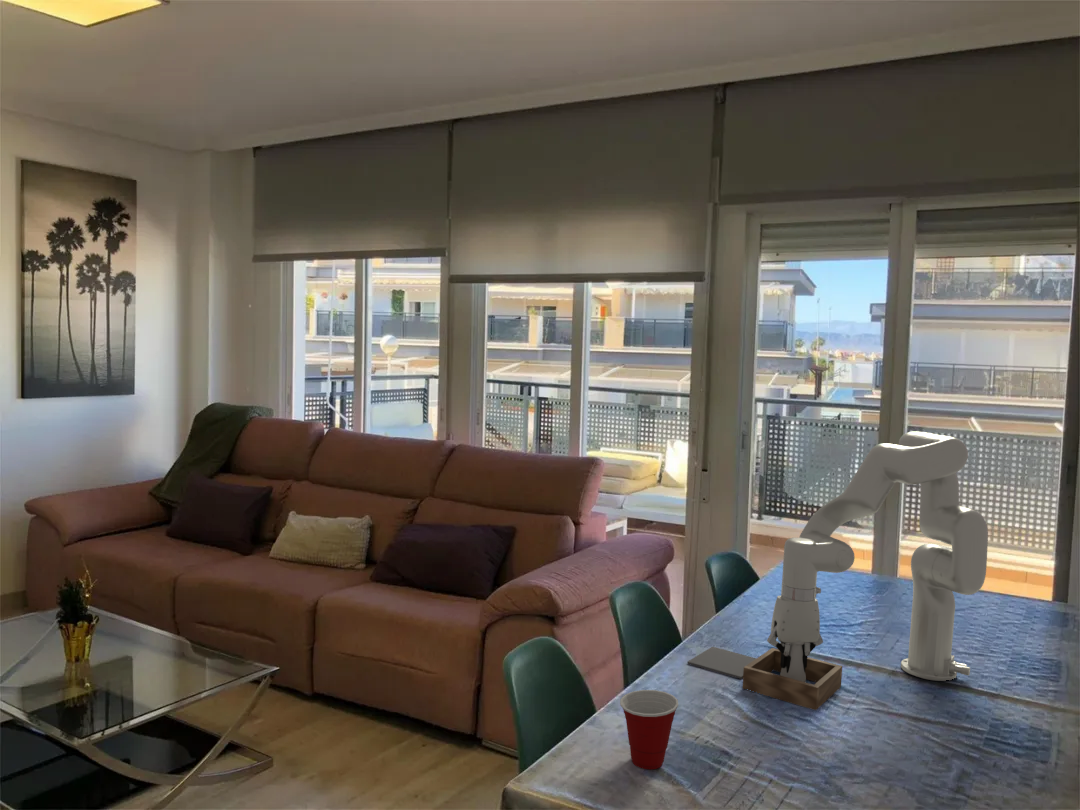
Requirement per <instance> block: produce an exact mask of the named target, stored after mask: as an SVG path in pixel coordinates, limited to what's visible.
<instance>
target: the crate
mask: <svg viewBox="0 0 1080 810" xmlns="http://www.w3.org/2000/svg"><path fill="white" fill-rule="evenodd" d="M756 658H757V659H755V660H754V661H752V662H751V663H749V664H748V665H746V666H745V667H744V671H743V678H742V688H743V689H742V688H741V689H742V690H745V689H748V690H747V691H749V690H751V691H750V692H752V691H754V692H753V693H755V692H757V693H756V694H759V693H760V695H762V694H763V695H762V696H766V697H769V696H770V697H769V698H772V699H776V700H780V701H782V702H787V703H790V704H792V705H793V704H794V705H797V706H800V707H803V708H806V709H811V710H813V711H818V709H819V708H820V707H822V706H823V705H824V704H825V703H826V702H827V701H828V700H829V699H830V698H831V697H832V696H833V695H834V694H835V693H836V692H838V690H839V689H840V688H841V687H842V679H843V678H842V677H843V676H842V675H843V665H839V664H836V663H833V662H829V661H825V660H821V659H820V660H819V659H817V658H812V657H809V656H807V667H806V668H805V675H806V682H802V681H798V680H795V679H791V678H788V677H784V676H780V674H776V673H773V671H774V672H778V673H781V669H782V667H781V665H780V662H781V652H780V651H779V650H778V649H777V648H776V647H771V648H770V649H768V650H767V651H765V652H764V653H762V654H761V655H760V656H758V657H756ZM807 680H808V681H811V682H813V683H814V684H812V683H809V682H807Z"/></svg>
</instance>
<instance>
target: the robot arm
mask: <svg viewBox="0 0 1080 810" xmlns="http://www.w3.org/2000/svg"><path fill="white" fill-rule="evenodd" d="M968 458H969V451H968V448H967V445H965V443H964V442H963V441H962V440H961V439H959V438H957V437H953V436H948V435H942V434H935V433H931V432H925V431H908V432H906V433H904V434H902V435H901V437H900V438H899V440H898V444H895V443H894V444H893V443H887V442H886V443H879V444H875V445H874V446H872V448H871V449H870V450H869V452H868V454H866V456H865V458H864V459H863V461H862V463H861V464H860V466H859V468H858V469H857V471H856V472H855V474H854V476H853V477H852V479H851V480H850V482H849V483H848V485H847V487H846V488H845V489H844V491H843V492H842V493H841V494H840V495H837V496H836V497H834V498H833V499H831V500H829V502H827V503H826V504H824V505H823V506H821V507H820V508H819V509H817V510H816V511H815V512H814V513H813V515H812V516H811V517H810V518H809V520H808V522H807V523H806V525H805V526H804V528H803V529H802V531H801V532H800V535H799V537H791V538H790V537H789V538H787V540H785V542H784V546H783V549H784V550H783V561H782V578H781V591H780V592H781V593H780V595H777V597H776V600H775V603H774V607H773V611H772V618H771V619H772V620H771V627H770V634H769V636H768V638H767V639H766V642H767V643H768V644H770V645H771V646H773V647H774V648H775V649H778V650H779V651H780V652H781V662H780V665H781V667H782V668H785V667H786V669H787V673H788V672H789V667H790V661H791V656H789V650H790V644H791V643H794V642H798V641H800V640H801V642H804V644H803V645H802V649H803V667H804V672H805V668H806V667H807V657H809V656H810V654H811V652H812V651H814V649H815V648H816V647H818V646H820V645H822V644H823V643H824V640H823V638H822V635H821V633H820V632H821V631H820V630H821V624H820V623H821V620H820V608H819V607H820V606H819V601H818V599H817V595H818V594H821V593H822V589H821V587H817V582H818V581H817V579H818V572H822V573H823V572H824V573H833V574H834V573H835V574H839V573H843V572H846V571H848V570H849V569H850V568H851V567H852V566H853V565H854V563H855V552H854V549H853V547H851V546H850V544H848V543H846V541H843V540H840V539H837V538H835V537H833V536H832V535H833V533H834V532H835V531H836V530H837V529H838V528H839V527H841V526H842V525H844V524H845V523H847V522H849V521H853V520H857V519H861V518H865V517H868V516H872V515H874V514H875V515H876V513H878V511H879V510H880V508H881V507H882V505H883V503H884V502H885V500H886V499H887V497H888V495H889V493H890V492H891V490H893V487H894V486H895V484H896V483H901V484H904V485H911V486H912V485H919V487H920V488H919V489H920V496H919V497H920V498H919V517H918V518H919V520H918V521H919V522H918V523H919V529H920V531H921V534H923V535H924V536H926V537H927V538H929V539H930V540H935V541H938V542H940V543H943V544H947V545H949V546H951V548H950V547H949V546H948V547H947V546H943V545H941V544H936V543H925V544H922V545H920V546H918V547H917V548H916V549H915V550H914V552H913V553H912V555H911V558H910V559H911V560H910V568H911V569H910V571H911V578H912V587H913V589H912V590H913V591H912V604H911V605H912V606H911V617H910V631H909V641H908V642H909V643H908V655H907V658H904V659H902V660H901V661H900V668H901V669H902V671H904V672H906V673H907V674H909V675H912V676H915V677H916V678H921V679H924V680H930V681H936V682H947V681H946V680H949V681H952V679H953V680H954V678H955V679H956V678H957V677H956V676H958V675H957V673H958V674H961V675H963V676H964V675H965V676H969V677H970V673H971V667H969V666H967V664H965V663H960V662H957V661H956V660H955V655H952V653H953V652H952V651H953V650H952V648H953V636H954V627H955V625H954V623H955V612H956V601H955V595H954V593H957V594H960V595H964V596H971V595H974V594H976V593H978V592H979V591H980V590H981V589H982V587H983V586H984V583H985V580H986V576H987V565H988V563H987V561H988V544H989V529H988V525H987V522H986V519H985V518H984V516H983V515H982V514H981V513H980V512H979V511H977V510H974V509H972V508H970V507H965V506H961V505H960V492H959V491H960V483H959V478H958V475H957V473H958V472H960V471H962V469H963V468H964V467H965V465H966V464H967V462H968Z"/></svg>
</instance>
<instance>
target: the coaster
mask: <svg viewBox="0 0 1080 810" xmlns="http://www.w3.org/2000/svg"><path fill="white" fill-rule="evenodd" d="M757 658H758V657H753V656H749V655H745V654H742V653H739V652H738V653H737V652H736V651H735V652H734V651H731V650H727V649H723V648H719V647H717V646H711V647H709V648H707V649H706V650H705V651H702V652H701V653H699V654H698V655H696V656H694V657H693V658H691V659H690V660H688V661H687V663H688V664H687V665H690V664H691V665H690V666H693V665H694V666H693V667H697V668H700V667H701V669H703V668H704V670H708V671H710V670H711V672H714V673H717V672H718V674H721V675H724V674H725V676H728V675H729V677H731V676H732V677H731V678H735V677H736V678H735V679H738V678H739V680H743V671H744V667H745V666H746V665H748V664H749V663H751V662H752V661H754V660H755V659H757Z"/></svg>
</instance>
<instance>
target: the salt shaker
mask: <svg viewBox="0 0 1080 810" xmlns="http://www.w3.org/2000/svg"><path fill="white" fill-rule="evenodd" d="M803 644H804V642H801V640H800V641H798V642H794V643H791V644H790V650H789V656H791V661H790V667H789V672H788V673H787V669H786V667H785V668H782V669H781V672H779V675H780V676H784V677H788V678H791V679H795V680H798V681H802V682H806V683H807V679H806V675H805V672H804V667H803V649H802V645H803Z"/></svg>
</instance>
